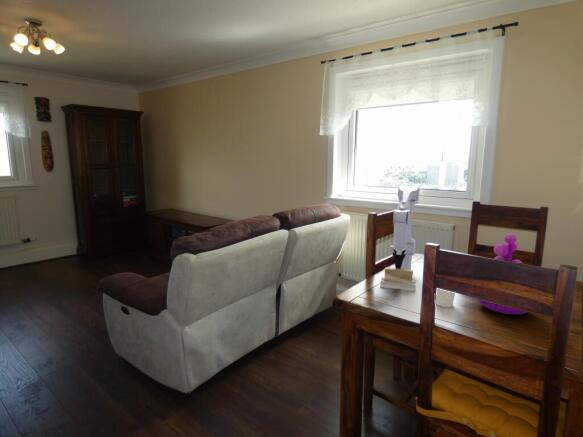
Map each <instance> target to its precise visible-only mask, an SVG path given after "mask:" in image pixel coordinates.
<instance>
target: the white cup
mask: <svg viewBox="0 0 583 437" xmlns="http://www.w3.org/2000/svg"><path fill="white" fill-rule="evenodd" d="M455 296H456V292H455V293H452V292H448V291H444V290H440V289H437V295H436V304H435V305H436V306H438V307H442V308H452V307H453V306H454V300H455Z"/></svg>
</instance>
